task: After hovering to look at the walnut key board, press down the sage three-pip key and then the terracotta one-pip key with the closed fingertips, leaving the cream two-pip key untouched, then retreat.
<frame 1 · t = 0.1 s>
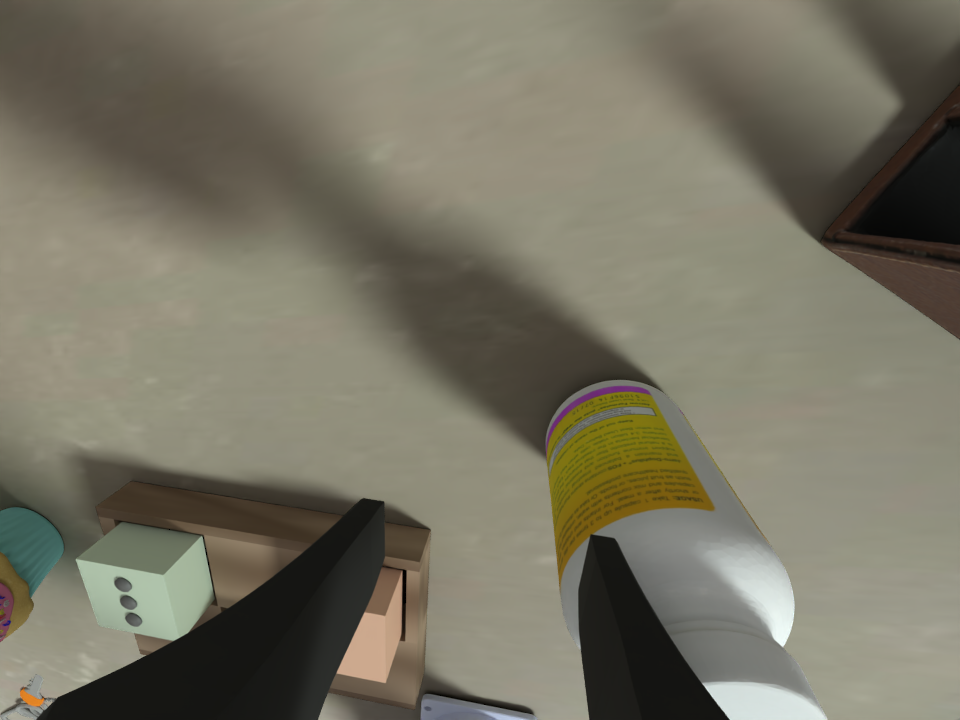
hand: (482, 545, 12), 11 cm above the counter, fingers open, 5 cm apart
key three: (149, 581, 25), point 4 cm above the counter, slide at 0.0 cm
key board: (284, 581, 29), on the counter
key chain: (59, 704, 40), on the counter
key one: (348, 618, 24), point 4 cm above the counter, slide at 0.0 cm
cupcake: (35, 533, 31), on the counter
supplement bottle: (612, 433, 22), on the counter, touching gripper
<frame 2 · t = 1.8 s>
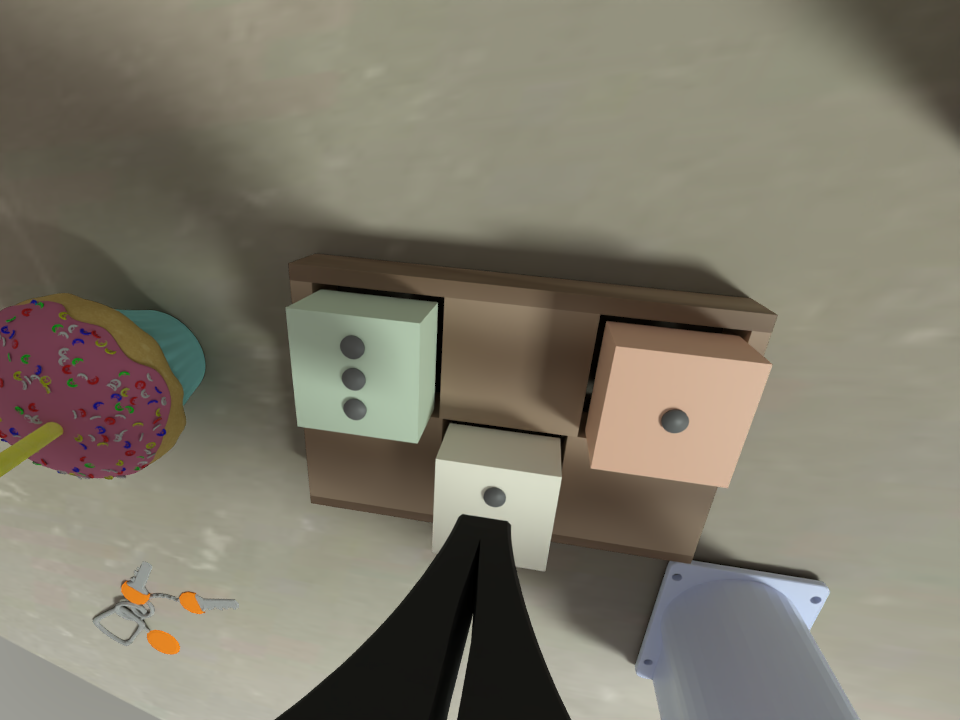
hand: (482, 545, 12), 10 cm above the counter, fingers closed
key three: (367, 364, 18), point 4 cm above the counter, slide at 0.0 cm
key board: (509, 399, 22), on the counter
key chain: (165, 605, 33), on the counter
key one: (665, 402, 17), point 4 cm above the counter, slide at 0.0 cm
key two: (495, 496, 20), point 4 cm above the counter, slide at 0.0 cm
cupcake: (166, 353, 24), on the counter
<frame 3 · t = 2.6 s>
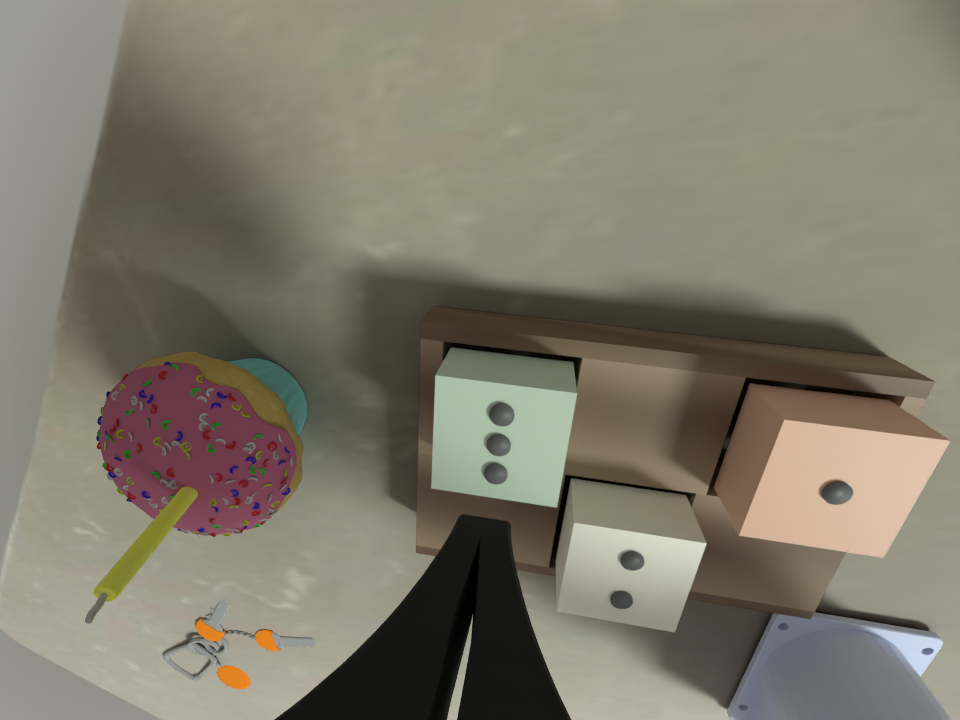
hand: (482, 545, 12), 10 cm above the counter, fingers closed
key three: (502, 425, 18), point 4 cm above the counter, slide at 0.0 cm
key board: (622, 450, 22), on the counter
key chain: (237, 640, 33), on the counter
key one: (815, 468, 17), point 4 cm above the counter, slide at 0.0 cm
key two: (621, 554, 20), point 4 cm above the counter, slide at 0.0 cm
cupcake: (266, 399, 24), on the counter
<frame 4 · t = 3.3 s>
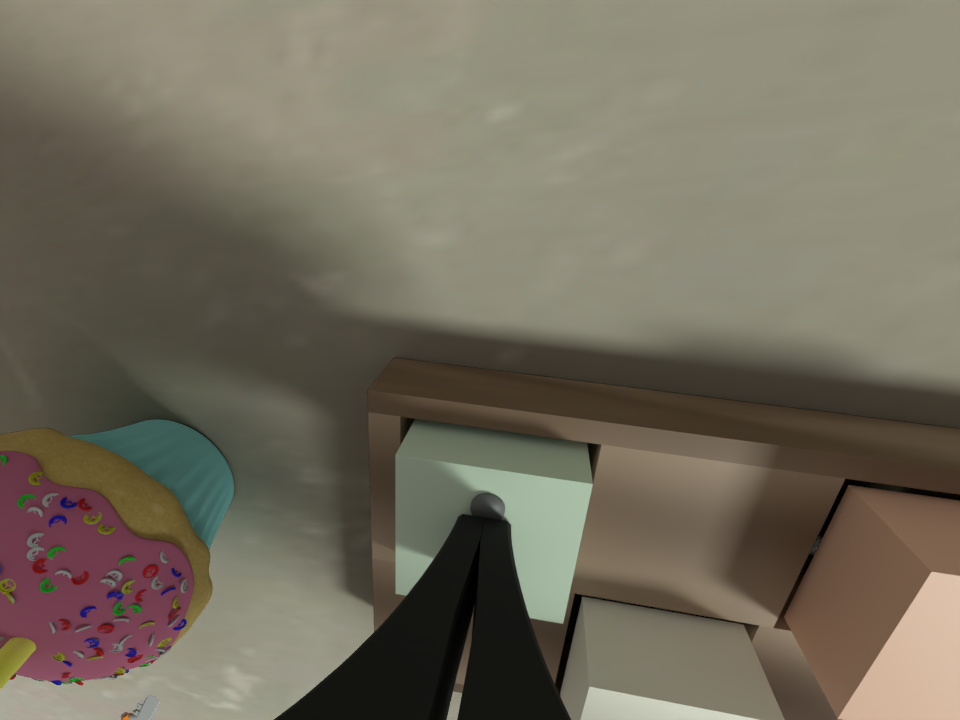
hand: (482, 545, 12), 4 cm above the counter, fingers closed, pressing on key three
key three: (490, 510, 13), point 2 cm above the counter, slide at 1.2 cm, touching gripper
key board: (650, 548, 16), on the counter
key one: (952, 618, 11), point 4 cm above the counter, slide at 0.0 cm
key two: (653, 708, 14), point 4 cm above the counter, slide at 0.0 cm
cupcake: (182, 468, 18), on the counter
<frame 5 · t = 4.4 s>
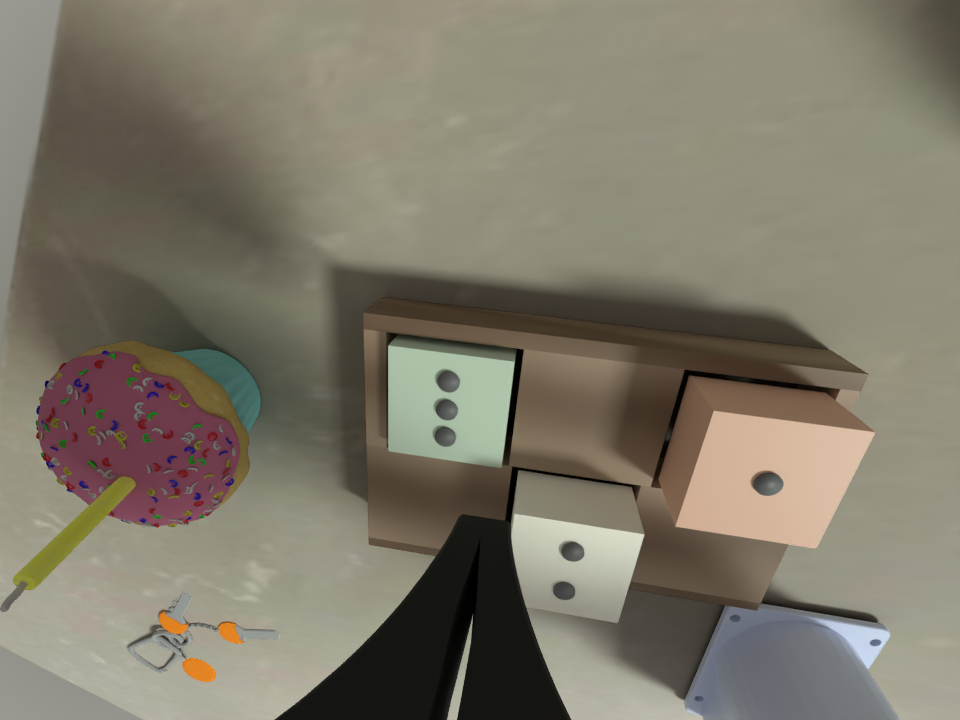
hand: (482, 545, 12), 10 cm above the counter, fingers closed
key three: (453, 394, 20), point 2 cm above the counter, slide at 2.0 cm
key board: (573, 443, 22), on the counter
key chain: (202, 633, 33), on the counter
key one: (751, 460, 17), point 4 cm above the counter, slide at 0.0 cm
key two: (566, 545, 20), point 4 cm above the counter, slide at 0.0 cm
cupcake: (219, 390, 24), on the counter
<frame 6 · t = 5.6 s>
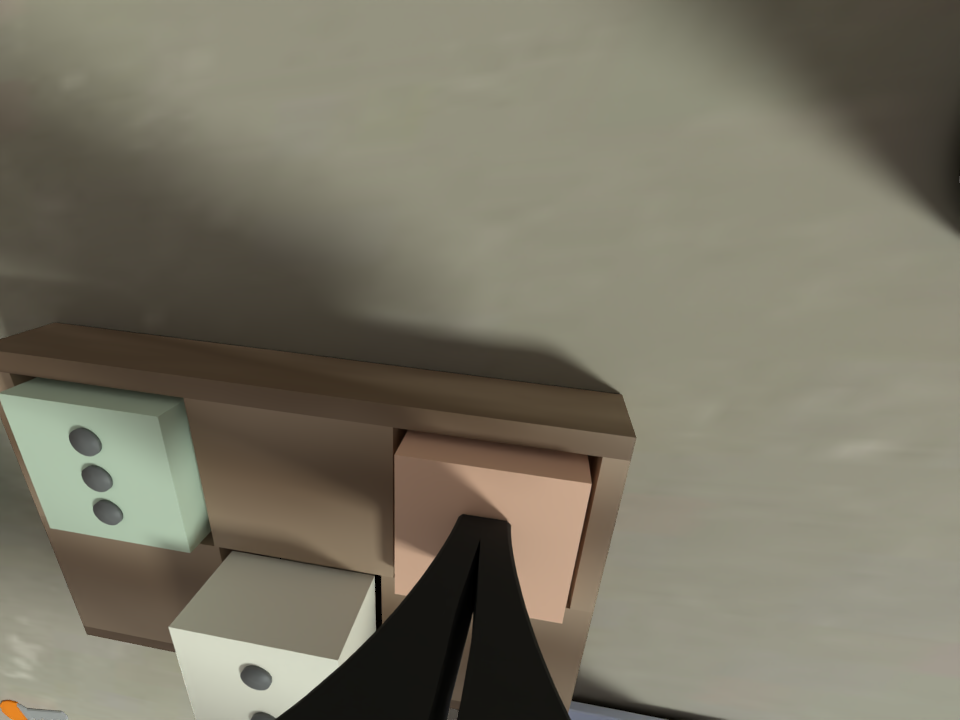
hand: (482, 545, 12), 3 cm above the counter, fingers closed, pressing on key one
key three: (136, 452, 15), point 2 cm above the counter, slide at 2.0 cm
key board: (330, 508, 17), on the counter
key one: (489, 510, 13), point 2 cm above the counter, slide at 1.8 cm, touching gripper
key two: (286, 655, 15), point 4 cm above the counter, slide at 0.0 cm
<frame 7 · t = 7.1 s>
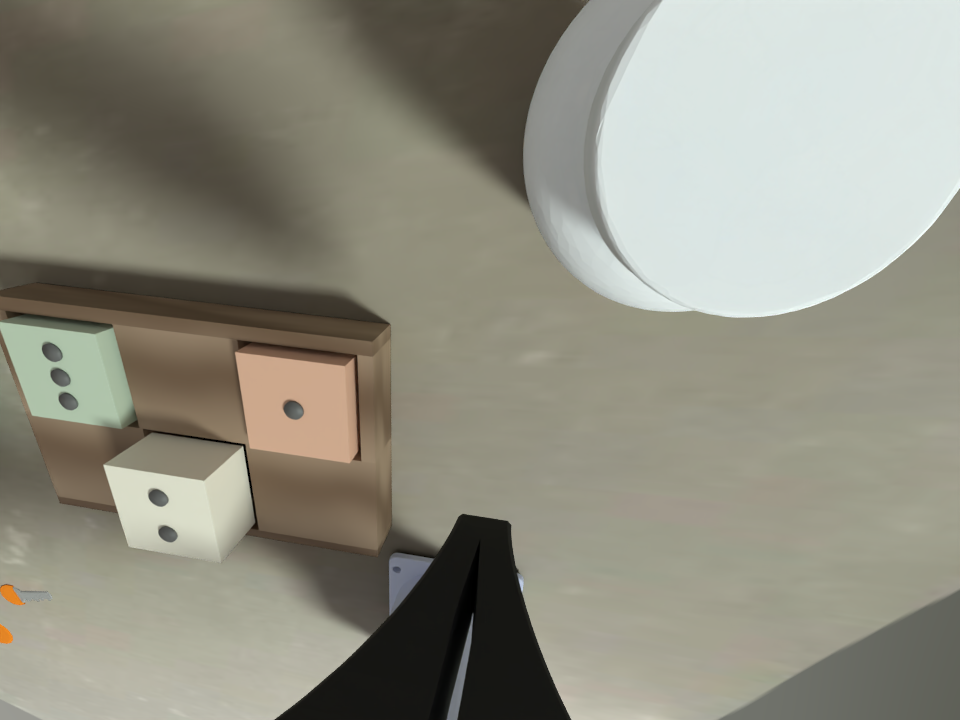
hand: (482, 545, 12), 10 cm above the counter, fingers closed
key three: (88, 366, 23), point 2 cm above the counter, slide at 2.0 cm
key board: (224, 411, 25), on the counter
key one: (308, 396, 22), point 2 cm above the counter, slide at 2.0 cm
key two: (185, 497, 23), point 4 cm above the counter, slide at 0.0 cm
supplement bottle: (611, 158, 18), on the counter
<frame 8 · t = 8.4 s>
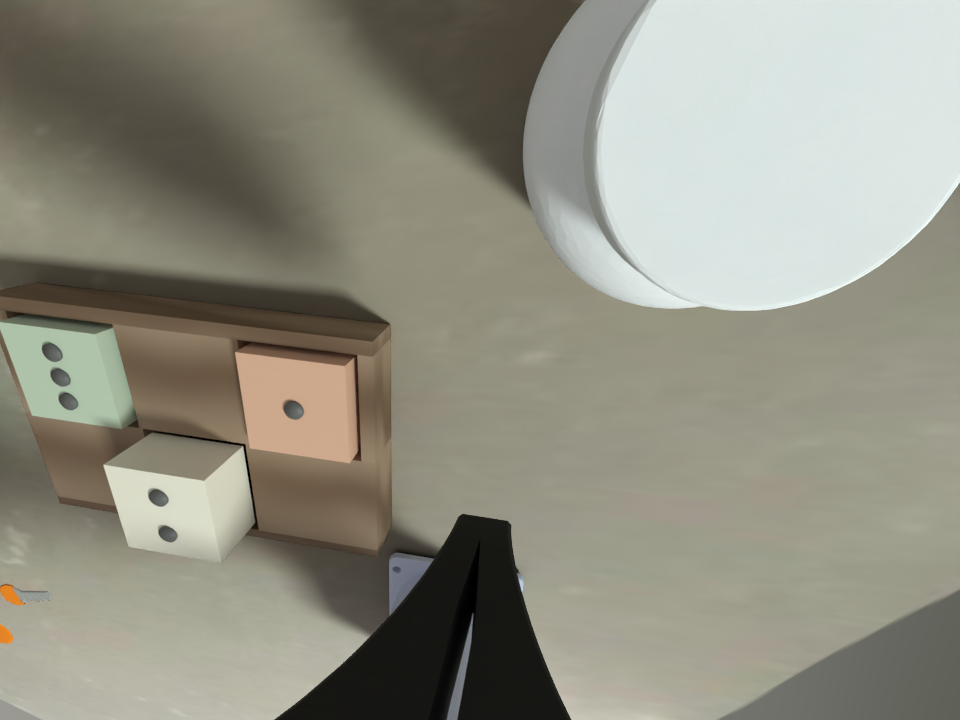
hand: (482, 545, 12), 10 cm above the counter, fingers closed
key three: (88, 366, 23), point 2 cm above the counter, slide at 2.0 cm
key board: (224, 411, 25), on the counter
key one: (308, 396, 22), point 2 cm above the counter, slide at 2.0 cm
key two: (185, 497, 23), point 4 cm above the counter, slide at 0.0 cm
supplement bottle: (611, 158, 18), on the counter
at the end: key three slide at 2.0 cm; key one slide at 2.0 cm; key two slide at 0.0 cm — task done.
